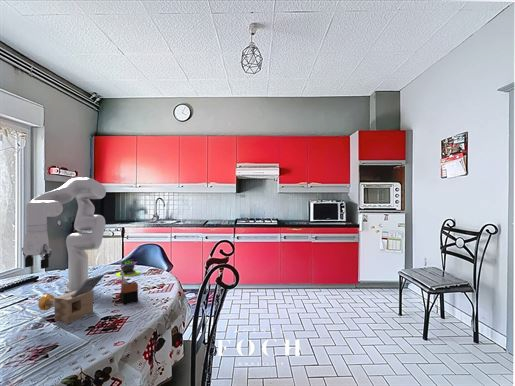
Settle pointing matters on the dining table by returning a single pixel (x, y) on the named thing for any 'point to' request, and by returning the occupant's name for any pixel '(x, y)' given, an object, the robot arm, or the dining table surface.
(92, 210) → the robot arm
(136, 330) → the dining table surface
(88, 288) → the grey flat plate
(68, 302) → the block
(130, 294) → the battery
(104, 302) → the dining table surface
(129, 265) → the toy cauldron
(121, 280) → the tow hook
